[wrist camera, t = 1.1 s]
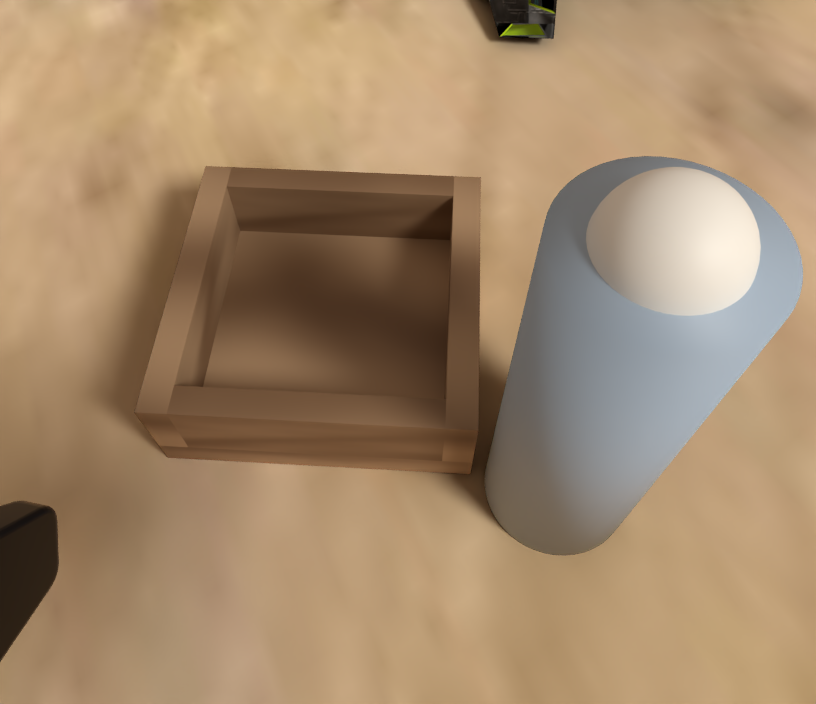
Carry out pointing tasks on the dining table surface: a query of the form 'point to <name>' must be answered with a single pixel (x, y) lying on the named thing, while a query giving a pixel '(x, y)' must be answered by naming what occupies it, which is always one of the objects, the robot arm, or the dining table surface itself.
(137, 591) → the dining table surface
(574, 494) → the blue bottle
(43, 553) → the robot arm
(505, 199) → the dining table surface
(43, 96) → the dining table surface
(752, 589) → the dining table surface
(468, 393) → the square wooden tray
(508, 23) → the aircraft
